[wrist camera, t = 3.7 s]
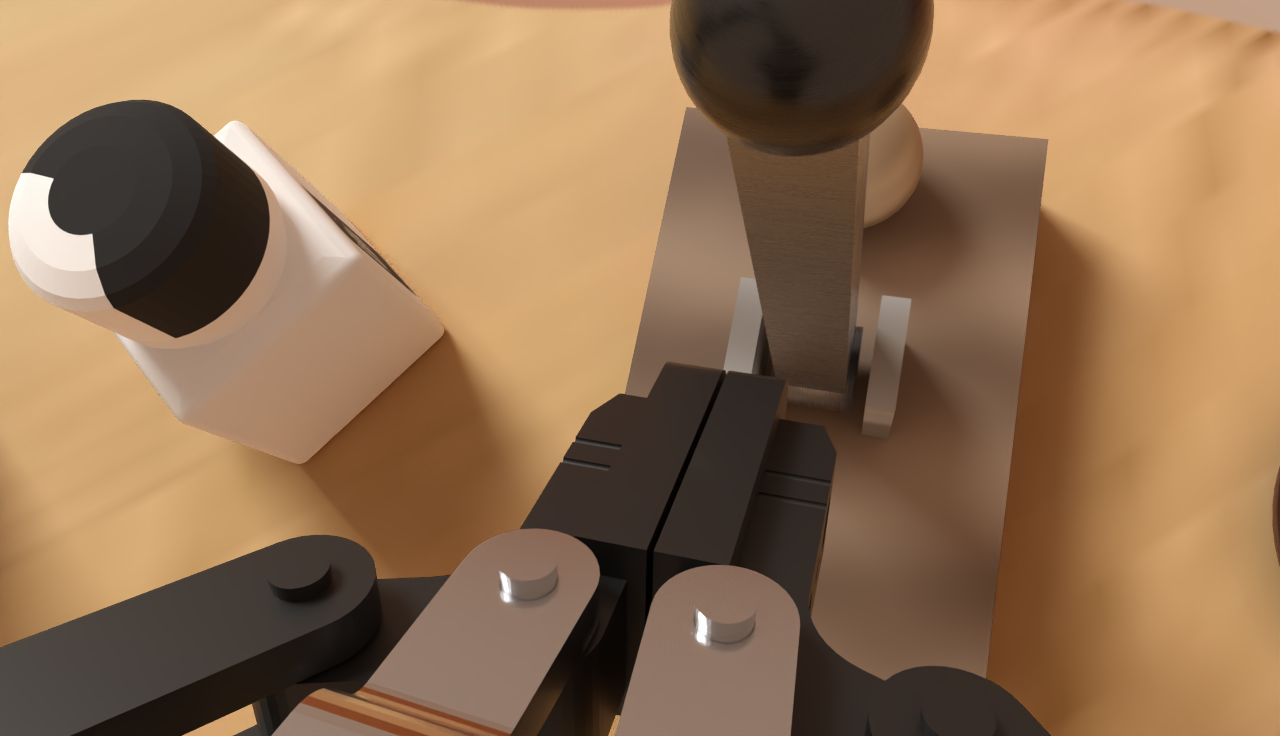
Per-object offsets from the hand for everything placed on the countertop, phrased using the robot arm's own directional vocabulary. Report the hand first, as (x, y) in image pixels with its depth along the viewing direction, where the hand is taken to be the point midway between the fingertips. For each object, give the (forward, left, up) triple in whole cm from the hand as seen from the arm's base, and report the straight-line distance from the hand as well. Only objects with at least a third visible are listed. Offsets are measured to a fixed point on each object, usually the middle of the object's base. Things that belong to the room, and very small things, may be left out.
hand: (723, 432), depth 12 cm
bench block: (-3, +5, -22) cm, 23 cm away
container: (-20, -5, -23) cm, 31 cm away
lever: (-3, +5, -18) cm, 19 cm away
